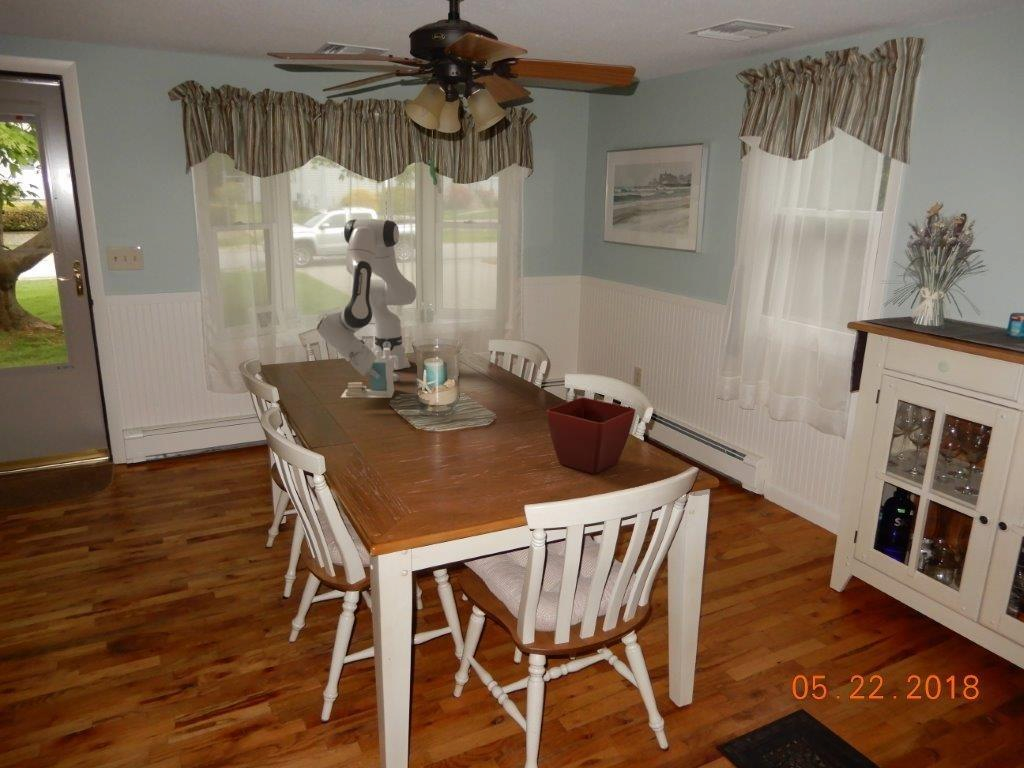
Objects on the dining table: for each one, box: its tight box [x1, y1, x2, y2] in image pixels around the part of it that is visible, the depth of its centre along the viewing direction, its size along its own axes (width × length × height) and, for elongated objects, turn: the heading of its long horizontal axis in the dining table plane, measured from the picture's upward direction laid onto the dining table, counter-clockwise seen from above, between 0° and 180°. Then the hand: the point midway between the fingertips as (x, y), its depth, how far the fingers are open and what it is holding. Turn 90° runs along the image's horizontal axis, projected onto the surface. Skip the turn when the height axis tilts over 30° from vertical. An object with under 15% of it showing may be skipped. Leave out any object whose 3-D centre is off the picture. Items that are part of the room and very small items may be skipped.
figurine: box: [375, 348, 400, 383], centre depth 291 cm, size 7×9×15 cm
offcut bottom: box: [345, 385, 368, 396], centre depth 273 cm, size 8×6×2 cm
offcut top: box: [347, 381, 363, 392], centre depth 272 cm, size 6×5×2 cm
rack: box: [340, 356, 395, 399], centre depth 272 cm, size 11×19×15 cm, turn 92°
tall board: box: [369, 362, 387, 391], centre depth 272 cm, size 2×6×12 cm, turn 92°
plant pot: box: [546, 397, 636, 475], centre depth 209 cm, size 19×19×17 cm
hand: (379, 375), depth 272 cm, fingers open, 4 cm apart
